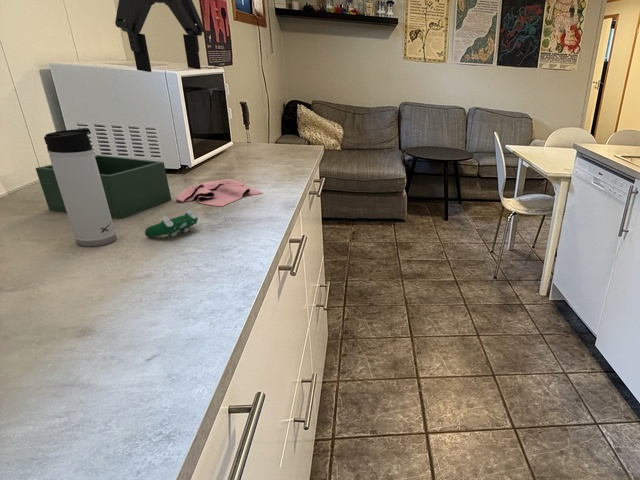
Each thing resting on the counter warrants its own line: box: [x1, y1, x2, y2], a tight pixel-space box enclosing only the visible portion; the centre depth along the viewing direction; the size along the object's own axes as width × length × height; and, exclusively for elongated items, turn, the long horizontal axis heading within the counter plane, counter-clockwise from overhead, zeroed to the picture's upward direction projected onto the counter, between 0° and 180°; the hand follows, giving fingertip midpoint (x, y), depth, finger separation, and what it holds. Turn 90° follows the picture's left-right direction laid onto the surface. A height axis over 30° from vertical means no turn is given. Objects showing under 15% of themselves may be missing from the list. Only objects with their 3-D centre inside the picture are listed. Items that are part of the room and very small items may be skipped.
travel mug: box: [43, 127, 118, 247], centre depth 84 cm, size 6×7×20 cm
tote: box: [35, 154, 172, 220], centre depth 106 cm, size 17×16×9 cm
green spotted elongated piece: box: [144, 209, 198, 238], centre depth 94 cm, size 9×4×6 cm
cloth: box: [175, 178, 264, 208], centre depth 120 cm, size 20×22×2 cm
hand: (170, 69), depth 99 cm, fingers open, 13 cm apart
